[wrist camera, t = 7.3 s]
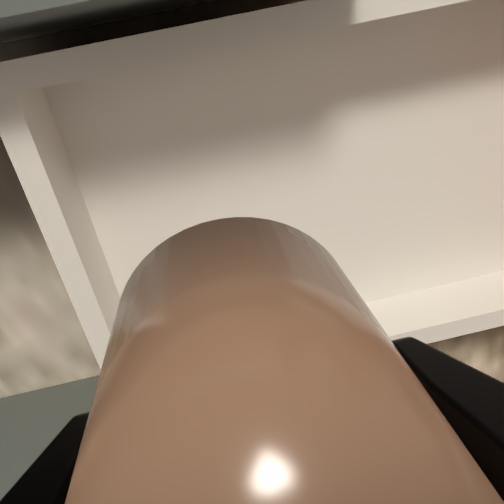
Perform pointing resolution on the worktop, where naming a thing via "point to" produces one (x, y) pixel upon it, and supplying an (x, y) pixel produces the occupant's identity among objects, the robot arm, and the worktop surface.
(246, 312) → the spice jar
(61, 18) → the dock
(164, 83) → the tray
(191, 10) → the worktop surface
